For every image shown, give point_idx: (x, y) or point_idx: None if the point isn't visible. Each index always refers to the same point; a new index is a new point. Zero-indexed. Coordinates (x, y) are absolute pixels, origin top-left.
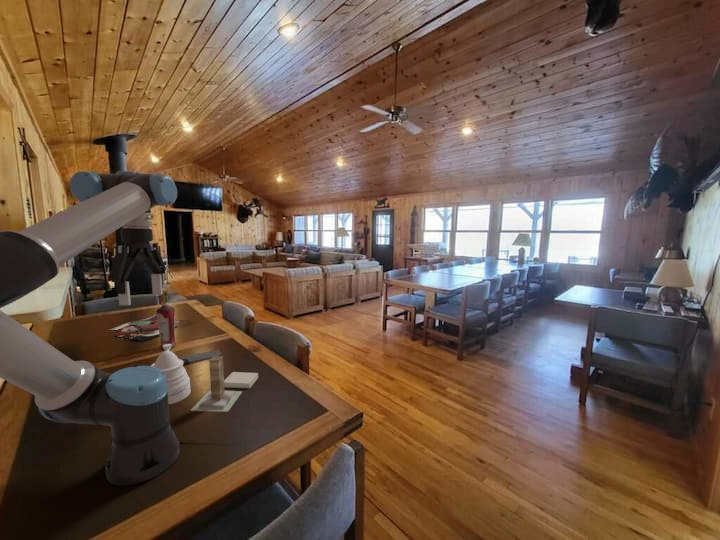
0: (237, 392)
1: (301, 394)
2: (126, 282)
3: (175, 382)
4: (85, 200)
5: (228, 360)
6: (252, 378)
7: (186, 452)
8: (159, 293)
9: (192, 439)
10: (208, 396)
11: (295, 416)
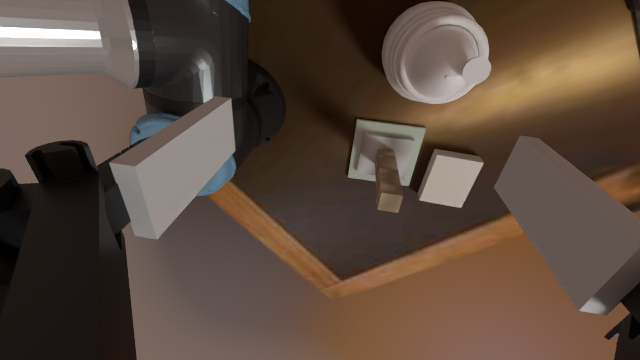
0: (406, 178)
1: (386, 257)
2: (136, 231)
3: (400, 90)
4: None
5: (597, 122)
6: (439, 201)
7: (264, 148)
8: (500, 182)
9: (288, 147)
10: (392, 140)
11: (332, 251)
